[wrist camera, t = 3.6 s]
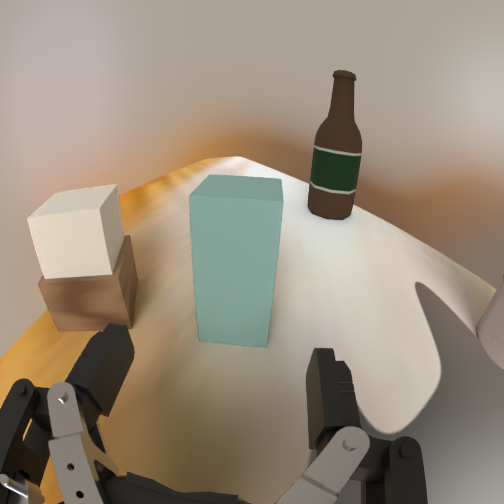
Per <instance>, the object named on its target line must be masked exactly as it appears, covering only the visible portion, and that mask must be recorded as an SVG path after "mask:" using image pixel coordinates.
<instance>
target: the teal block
mask: <svg viewBox="0 0 504 504" xmlns="http://www.w3.org/2000/svg"><path fill="white" fill-rule="evenodd" d="M189 204H190V230H191V249H192V265H193V279H194V292H195V303H196V314H197V324H198V334H199V341H206V342H214V343H223V344H232V345H241V346H252V347H263V348H266V346H267V339H268V331H269V324H270V316H271V308H272V300H273V292H274V284H275V275H276V267H277V258H278V249H279V240H280V231H281V221H282V212H283V191H282V181H281V179H274V178H262V177H247V176H230V175H209V176H208V177H207V178H206V179H205V180H204V181H203V182H202V183H201V184H200V185H199V186H198V187H197V188H196V189H195V190H194V191H193V192H192V193H191V194H190V195H189Z"/></svg>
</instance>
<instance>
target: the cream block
mask: <svg viewBox="0 0 504 504" xmlns="http://www.w3.org/2000/svg"><path fill="white" fill-rule="evenodd" d="M27 220H28V224H29V228H30V232H31V236H32V240H33V243H34V247H35V250H36V254H37V257H38V260H39V263H40V266H41V269H42V272H43V275H44V278H45V279H52V278H68V277H83V276H97V275H112V274H113V271H114V267H115V264H116V261H117V258H118V255H119V252H120V249H121V246H122V243H123V240H124V232H123V226H122V219H121V211H120V203H119V194H118V185H117V184H114V185H106V186H97V187H90V188H83V189H76V190H70V191H62V192H57V193H56V194H54V195H53V196H52V197H51V198H50V199H48V200H47V201H46V202H45V203H44V204H43V205H41V206H40V207H39V208H38V209H37V210H36V211H35V212H34V213H32V214H31V215H30V216H29V217H28V218H27Z"/></svg>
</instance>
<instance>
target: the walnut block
mask: <svg viewBox="0 0 504 504" xmlns="http://www.w3.org/2000/svg"><path fill="white" fill-rule="evenodd" d="M137 282H138V278H137V273H136V268H135V263H134V257H133V251H132V245H131V239H130V235H127V236H124V240H123V243H122V246H121V249H120V252H119V255H118V258H117V261H116V264H115V267H114V271H113V274H112V275H97V276H83V277H68V278H52V279H45V278H44V275H43V276H42V278H41V280H40V281H39V283H38V286H39V288H40V291H41V293H42V296H43V298H44V301H45V303H46V305H47V308H48V310H49V312H50V315H51V317H52V319H53V321H54V323H55V325H56V327H57V329H58V331H101V330H104V329H105V328H106V326H107V325H108V323H110V322H112V323H117V324H122V325H126V326H127V328H128V329H132V325H133V315H134V305H135V297H136V289H137Z"/></svg>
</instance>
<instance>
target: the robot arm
mask: <svg viewBox="0 0 504 504" xmlns="http://www.w3.org/2000/svg"><path fill="white" fill-rule="evenodd" d="M478 337H479V341H480V343H481V345H482V347H483V349H484V350H485V352H486V354H487V355H488V356H489V358H490V359H491V360H492V361H493V362H494V363H495V364H496V365H497V366H498V367H500V368H501V369H502V370H504V276H503V278H502V280H501V282H500V285H499V286H498V289H497V291H496V292H495V294H494V296H493V298H492V300H491V302H490V304H489V306H488V308H487V310H486V311H485V313H484V315H483V317H482V319H481V320H480V322H479V324H478ZM134 354H135V351H134V346H133V343H132V340H131V337H130V334H129V331H128V328H127V326H126V325H122V324H117V323H112V322H110V323H108V325H107V326H106V328H105V329H104V331H103V332H100V331H99V332H98V333H97V334H95V335H94V336H93V337H92V338H91V339H90V340H89V342H88V343H87V345H86V348H84V350H83V352H82V353H81V355H80V356H79V358H78V360H77V361H76V363H75V365H74V367H73V368H72V370H71V372H70V373H69V375H68V377H67V379H66V380H65V381H64V382H58V383H56V384H54V385H53V386H52V387H51V388H42V387H35V386H34V385H33V384H32V382H31V381H30V380H28V379H25V378H24V379H19V380H17V381H16V382H15V383H14V384H13V386H12V387H11V389H10V391H9V393H8V395H7V397H6V399H5V401H4V403H3V405H2V407H1V409H0V504H43V503H44V502H45V497H44V496H43V495H42V493H41V490H40V484H41V481H42V478H43V474H44V471H45V468H46V465H47V462H48V459H49V456H50V454H51V459H52V463H53V467H54V471H55V474H56V478H57V481H58V485H59V488H60V491H61V494H62V497H63V500H64V501H62V502H60V503H58V504H251V503H248V502H246V501H244V500H240V499H238V495H230V494H221V493H214V492H190V493H181V492H177V491H174V490H172V489H170V488H168V487H166V486H164V485H162V484H160V483H158V482H156V481H154V480H153V479H149V478H146V477H142V476H139V475H136V474H133V473H130V472H127V476H121V474H120V472H119V470H118V468H117V466H116V464H115V463H114V461H113V460H112V458H111V456H110V454H109V451H108V448H107V446H106V443H105V440H104V437H103V434H102V431H101V427H100V424H99V421H98V417H99V415H100V414H101V415H104V416H106V417H109V414H110V412H111V409H112V407H113V405H114V402H115V400H116V398H117V395H118V393H119V391H120V388H121V386H122V384H123V382H124V379H125V377H126V375H127V373H128V371H129V368H130V366H131V364H132V362H133V359H134ZM352 382H353V380H352V375H351V371H350V369H349V368H348V366H347V365H346V363H345V362H344V361H335V355H334V350H333V349H332V348H314V350H313V353H312V356H311V360H310V363H309V366H308V369H307V374H306V392H307V410H308V433H309V449H317V458H316V459H315V460H314V461H313V462H312V463H311V465H310V466H309V467H308V468H307V469H306V470H305V472H304V473H303V474H302V475H301V476H300V477H299V478H298V479H297V481H296V482H295V483H294V484H293V485H292V486H291V487H290V488H289V489H288V490H287V491H286V492H285V493H284V494H283V495H282V496H281V497H280V498H279V499H278V500H277V501H276V502H275V503H274V504H334V503H335V501H336V500H337V498H338V494H339V492H340V490H341V489H342V488H343V486H344V485H345V484H346V482H347V481H348V479H352V480H357V481H361V504H428V502H427V491H426V481H425V473H424V466H423V459H422V453H421V448H420V445H419V443H418V442H417V441H416V440H415V439H413V438H411V437H407V436H406V437H400V438H398V439H396V440H395V441H387V440H381V439H376V438H373V437H371V436H369V435H368V434H366V432H365V431H364V430H363V429H362V427H361V424H360V419H359V413H358V407H357V402H356V396H355V392H354V386H353V383H352ZM30 418H31V419H32V422H31V424H30V427H29V429H28V431H27V434H26V436H25V439H24V441H23V435H24V432H25V430H26V427H27V425H28V423H29V420H30Z"/></svg>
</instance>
